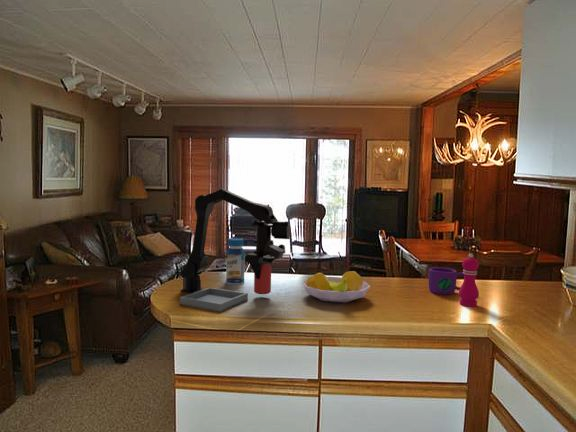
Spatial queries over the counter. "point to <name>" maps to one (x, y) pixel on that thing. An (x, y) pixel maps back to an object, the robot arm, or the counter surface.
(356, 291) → the fruit bowl
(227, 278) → the beverage bottle
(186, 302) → the tray
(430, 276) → the mug
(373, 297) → the counter surface
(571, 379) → the counter surface
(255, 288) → the beer can
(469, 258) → the pepper mill
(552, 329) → the counter surface
